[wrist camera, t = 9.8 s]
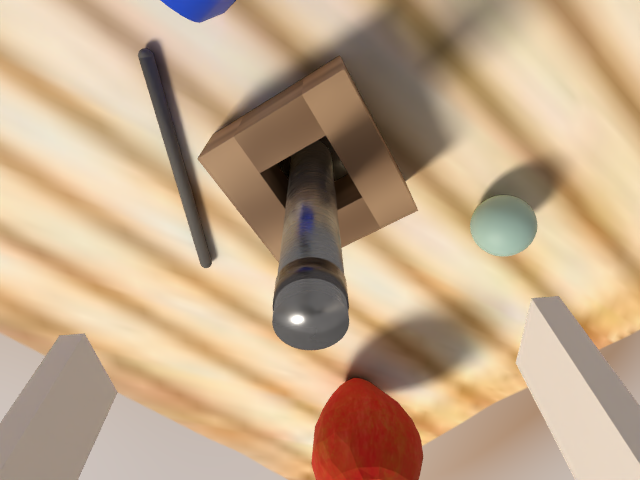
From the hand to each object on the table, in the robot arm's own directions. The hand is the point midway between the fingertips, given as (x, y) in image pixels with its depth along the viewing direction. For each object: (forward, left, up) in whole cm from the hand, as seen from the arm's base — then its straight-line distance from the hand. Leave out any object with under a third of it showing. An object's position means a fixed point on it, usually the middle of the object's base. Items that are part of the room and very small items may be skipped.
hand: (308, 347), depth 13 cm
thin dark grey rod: (0, -8, -17) cm, 19 cm away
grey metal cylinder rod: (0, 0, -17) cm, 17 cm away
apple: (+22, +2, -17) cm, 28 cm away
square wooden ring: (0, 0, -17) cm, 17 cm away
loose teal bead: (+5, +12, -17) cm, 21 cm away
